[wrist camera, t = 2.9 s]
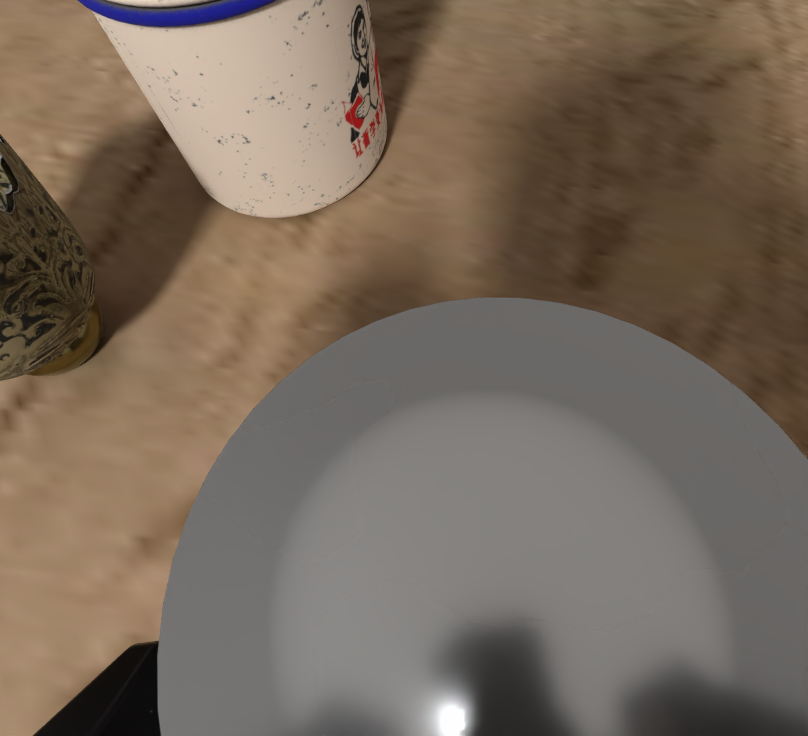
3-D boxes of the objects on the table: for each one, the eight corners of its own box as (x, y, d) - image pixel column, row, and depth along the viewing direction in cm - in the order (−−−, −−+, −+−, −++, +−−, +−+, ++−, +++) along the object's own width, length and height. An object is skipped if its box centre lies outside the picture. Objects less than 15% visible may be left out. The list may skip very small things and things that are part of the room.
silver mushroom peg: (589, 597, 14) (1055, 605, 3) (473, 740, 13) (565, 1492, 2) (461, 478, 16) (475, 204, 5) (349, 598, 15) (31, 606, 4)
